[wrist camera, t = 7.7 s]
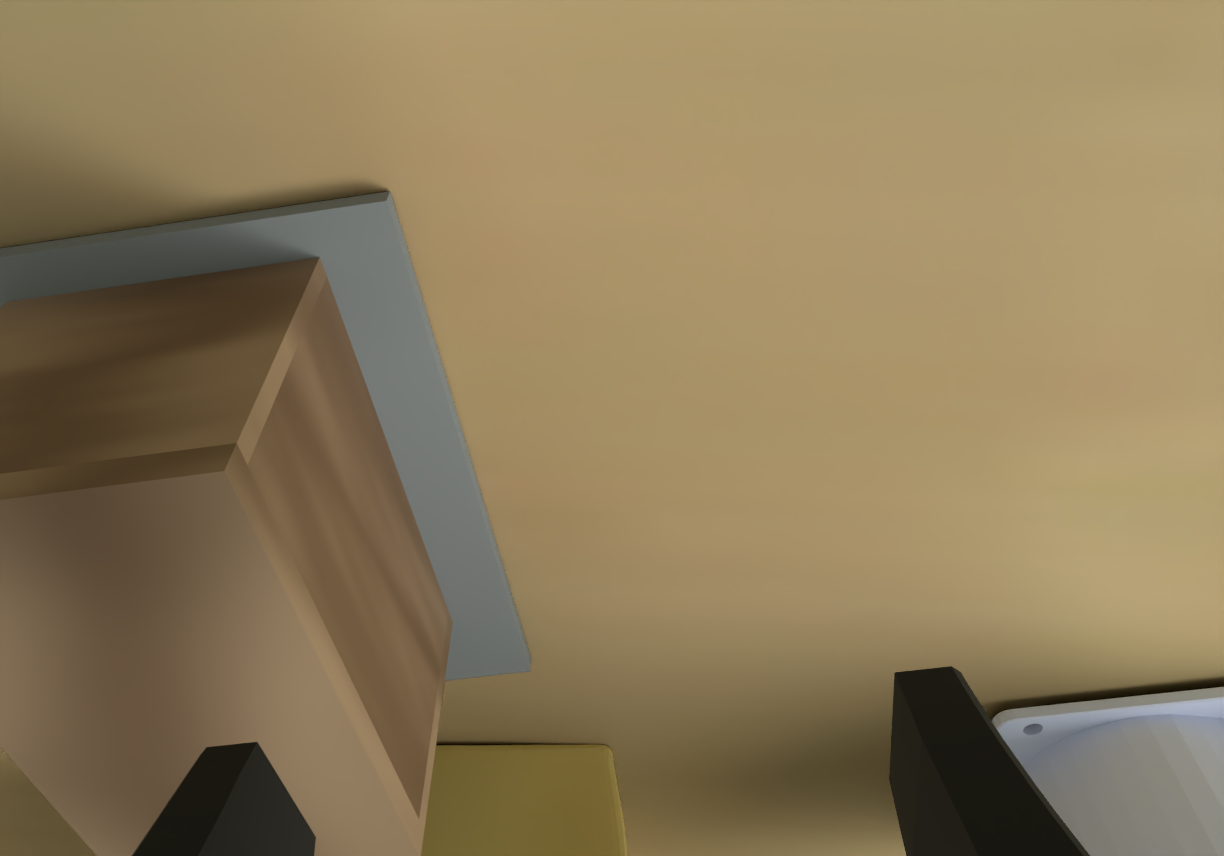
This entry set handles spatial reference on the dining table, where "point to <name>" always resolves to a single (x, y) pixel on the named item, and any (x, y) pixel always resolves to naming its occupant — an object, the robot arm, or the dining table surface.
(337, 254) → the mat
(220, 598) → the walnut cover
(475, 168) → the dining table surface
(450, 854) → the cheese
